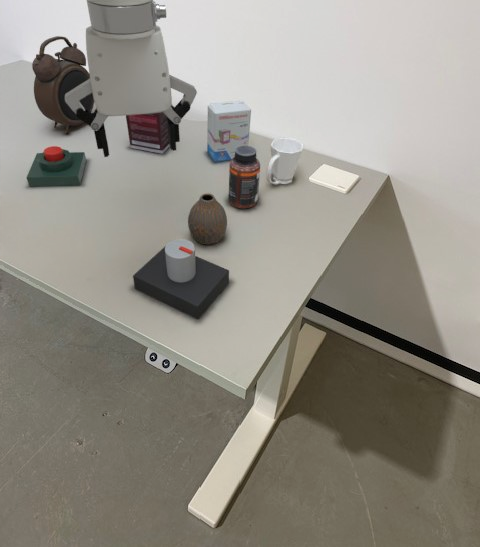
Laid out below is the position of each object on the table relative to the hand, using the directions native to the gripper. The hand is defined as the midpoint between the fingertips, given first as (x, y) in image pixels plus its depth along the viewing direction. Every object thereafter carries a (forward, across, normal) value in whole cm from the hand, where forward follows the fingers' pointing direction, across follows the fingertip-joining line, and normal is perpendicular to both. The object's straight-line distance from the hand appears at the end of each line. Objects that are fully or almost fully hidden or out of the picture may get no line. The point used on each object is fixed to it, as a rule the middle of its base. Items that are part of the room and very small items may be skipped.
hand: (139, 149), depth 62 cm
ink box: (+18, -21, -28) cm, 40 cm away
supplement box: (+18, -4, -36) cm, 41 cm away
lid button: (+15, +16, -28) cm, 35 cm away
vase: (+18, -10, 0) cm, 21 cm away
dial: (+15, -3, +12) cm, 19 cm away
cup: (+18, -29, -15) cm, 38 cm away
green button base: (+18, +16, -28) cm, 37 cm away
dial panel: (+18, -3, +12) cm, 22 cm away
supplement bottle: (+18, -20, -9) cm, 28 cm away
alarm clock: (+18, +13, -50) cm, 55 cm away
